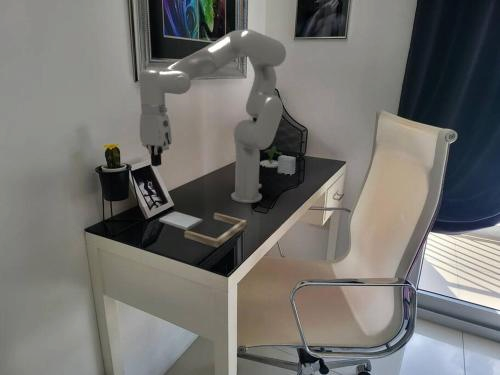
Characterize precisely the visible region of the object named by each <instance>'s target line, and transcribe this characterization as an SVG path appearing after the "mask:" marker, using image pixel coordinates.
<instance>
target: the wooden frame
mask: <svg viewBox="0 0 500 375" xmlns="http://www.w3.org/2000/svg"><path fill="white" fill-rule="evenodd" d="M213 220H216V221H220V222H223V223H226V224H230V225H234V226H232V227H231V228H229V229H228V230H226V231H225V232H224V233H223V234H221V235H219V236H218V237H216V238H214V237H211V236H206V235H203V234H201V233H197V232H194V231H190V230H185V231H184V238H185V239H189V240H192V241H194V242H198V243H202V244H204V245H207V246H211V247H214V248H219V247H220V246H222V245H223V244H225V242H227V241H228V240H229V239H230V238H232V237H233V236H235V235H236V234H237V233H239V232H240V231H241V230H242V229H244V228H245V227H247V220H246V219H243V218H242V219H240V218H238V217H233V216H231V215H226V214H222V213H218V212H214V213H213Z"/></svg>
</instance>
